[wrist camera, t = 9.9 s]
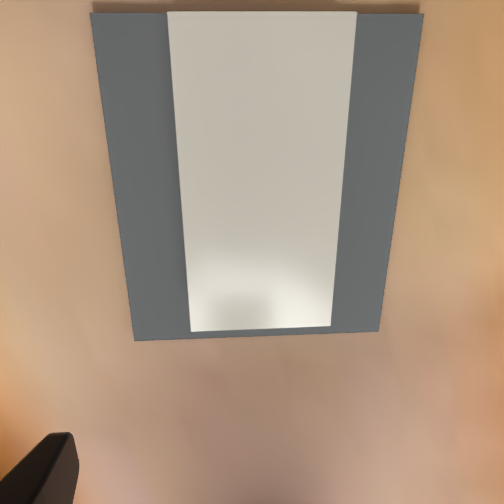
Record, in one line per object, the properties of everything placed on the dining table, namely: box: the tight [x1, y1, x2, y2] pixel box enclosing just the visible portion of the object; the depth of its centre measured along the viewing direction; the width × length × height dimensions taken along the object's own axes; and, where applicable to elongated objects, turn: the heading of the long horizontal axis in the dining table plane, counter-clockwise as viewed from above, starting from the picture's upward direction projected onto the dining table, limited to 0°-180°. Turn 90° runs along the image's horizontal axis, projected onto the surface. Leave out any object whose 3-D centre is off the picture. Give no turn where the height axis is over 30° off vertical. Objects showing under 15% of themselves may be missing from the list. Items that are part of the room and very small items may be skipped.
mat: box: [90, 13, 424, 341], centre depth 19 cm, size 14×12×1 cm
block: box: [167, 11, 357, 332], centre depth 18 cm, size 2×6×12 cm
